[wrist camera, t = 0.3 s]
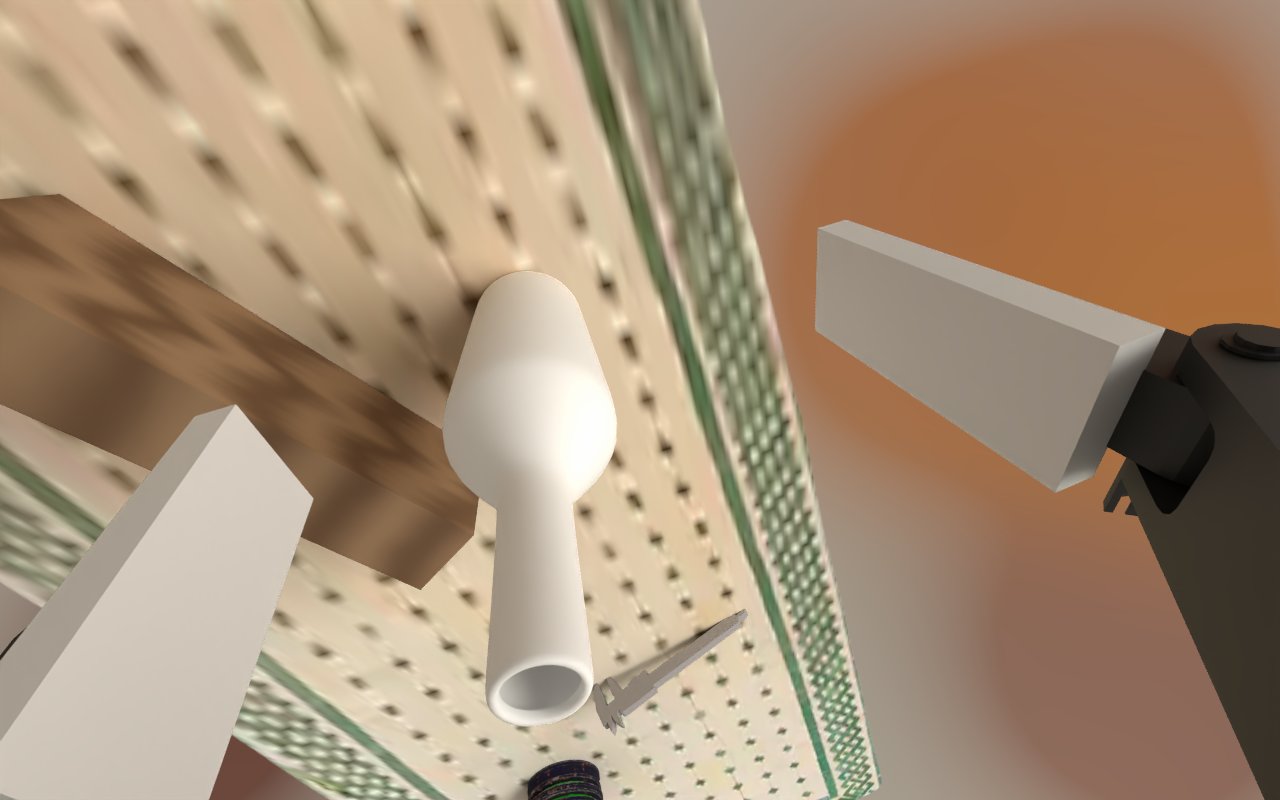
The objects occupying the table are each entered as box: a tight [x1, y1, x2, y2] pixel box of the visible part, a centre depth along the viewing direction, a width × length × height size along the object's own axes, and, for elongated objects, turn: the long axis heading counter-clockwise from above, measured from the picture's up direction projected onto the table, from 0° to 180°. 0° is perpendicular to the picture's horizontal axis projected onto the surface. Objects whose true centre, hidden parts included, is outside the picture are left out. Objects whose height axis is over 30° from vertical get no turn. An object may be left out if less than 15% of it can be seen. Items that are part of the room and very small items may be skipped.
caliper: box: [594, 609, 748, 735], centre depth 57 cm, size 20×1×6 cm, turn 115°
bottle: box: [442, 271, 617, 727], centre depth 25 cm, size 8×8×30 cm
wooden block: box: [0, 194, 479, 590], centre depth 32 cm, size 30×6×10 cm, turn 45°
